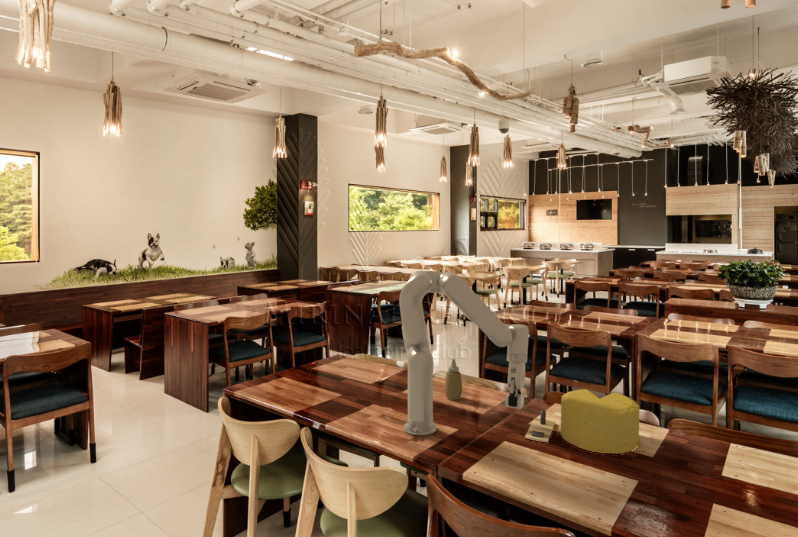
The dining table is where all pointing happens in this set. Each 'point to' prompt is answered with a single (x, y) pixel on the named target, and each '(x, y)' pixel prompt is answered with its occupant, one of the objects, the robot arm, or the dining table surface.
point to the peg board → (540, 428)
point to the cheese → (600, 422)
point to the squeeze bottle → (453, 382)
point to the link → (519, 401)
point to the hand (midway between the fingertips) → (514, 403)
